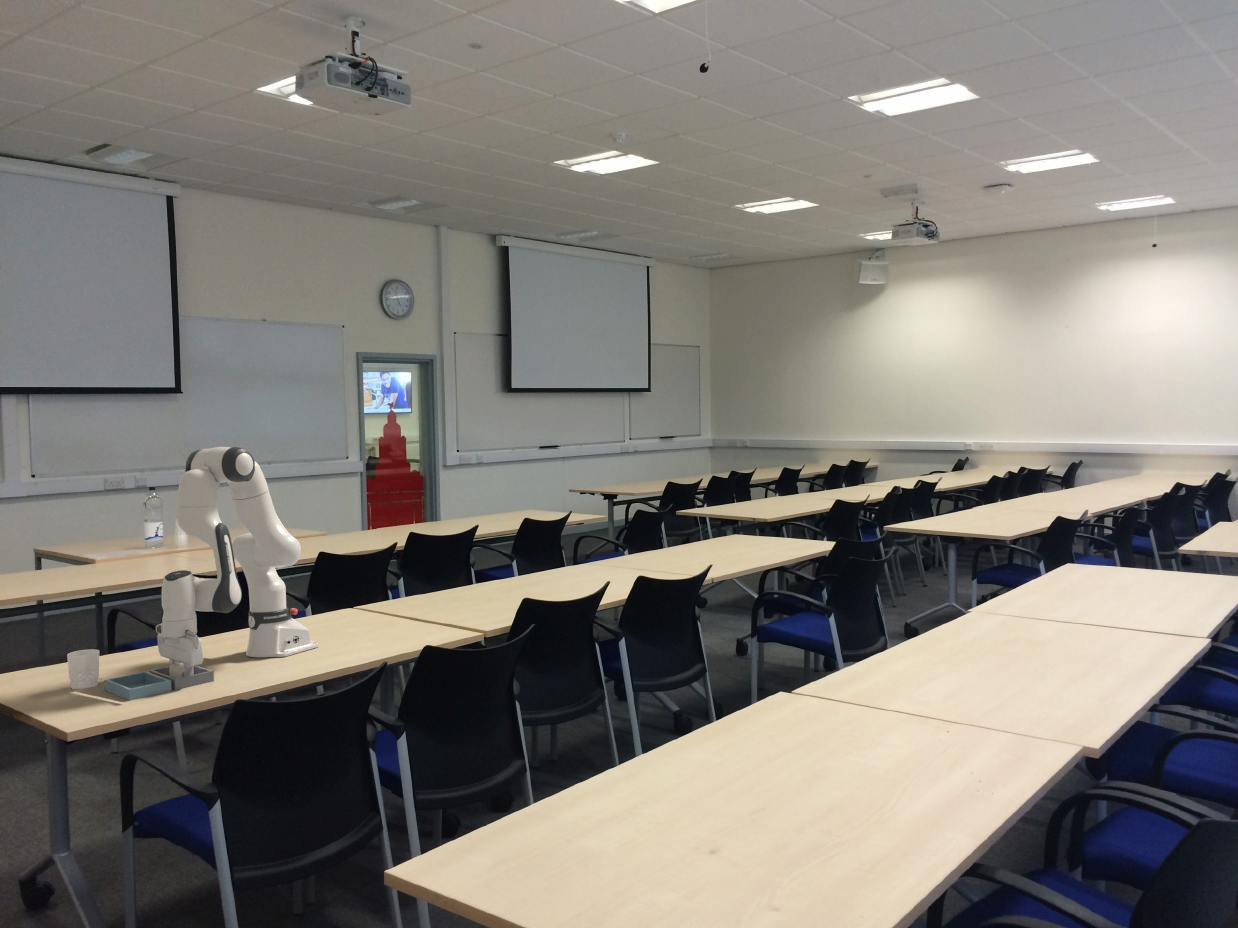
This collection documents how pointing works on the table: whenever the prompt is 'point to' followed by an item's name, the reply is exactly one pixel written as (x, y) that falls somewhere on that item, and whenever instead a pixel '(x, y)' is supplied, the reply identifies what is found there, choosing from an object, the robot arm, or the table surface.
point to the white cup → (83, 668)
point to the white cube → (178, 670)
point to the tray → (198, 678)
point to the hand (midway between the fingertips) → (181, 675)
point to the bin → (137, 685)
